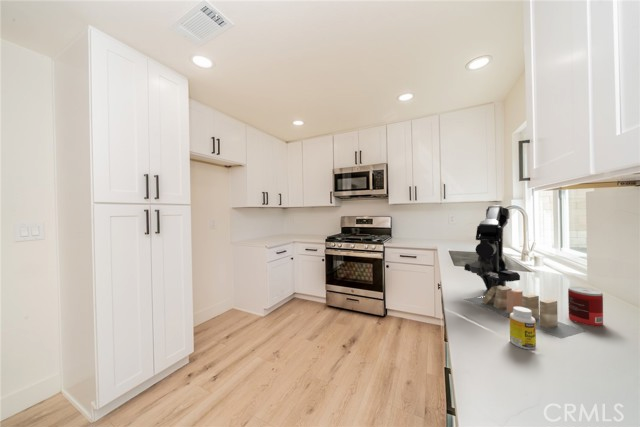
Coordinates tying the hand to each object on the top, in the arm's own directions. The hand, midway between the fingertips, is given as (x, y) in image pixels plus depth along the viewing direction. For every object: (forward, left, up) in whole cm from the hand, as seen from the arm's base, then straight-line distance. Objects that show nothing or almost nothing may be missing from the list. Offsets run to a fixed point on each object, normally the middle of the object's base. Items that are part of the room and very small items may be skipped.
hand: (490, 292), depth 93 cm
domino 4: (0, +14, -5) cm, 15 cm away
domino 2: (0, +4, -4) cm, 6 cm away
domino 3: (0, +9, -5) cm, 10 cm away
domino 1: (0, -1, -4) cm, 4 cm away
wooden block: (0, +19, -5) cm, 20 cm away
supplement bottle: (+19, +23, -5) cm, 30 cm away
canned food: (-15, +21, -5) cm, 26 cm away
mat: (0, +9, -5) cm, 10 cm away
